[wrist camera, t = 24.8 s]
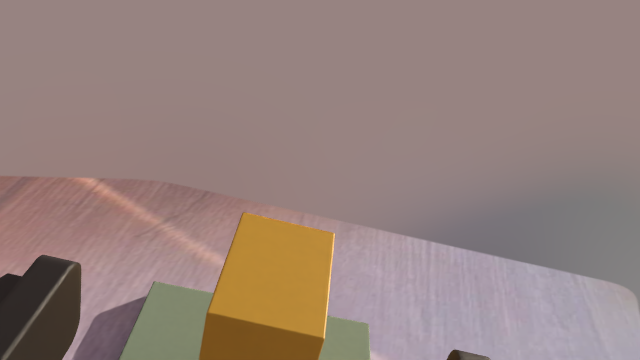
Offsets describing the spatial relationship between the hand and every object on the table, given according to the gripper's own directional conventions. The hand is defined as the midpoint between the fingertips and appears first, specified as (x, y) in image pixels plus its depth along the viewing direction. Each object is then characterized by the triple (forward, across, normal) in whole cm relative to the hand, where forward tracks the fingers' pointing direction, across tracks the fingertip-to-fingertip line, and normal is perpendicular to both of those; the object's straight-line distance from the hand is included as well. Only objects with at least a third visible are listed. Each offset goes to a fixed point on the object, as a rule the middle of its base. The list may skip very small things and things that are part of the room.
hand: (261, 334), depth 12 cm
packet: (+10, 0, +16) cm, 19 cm away
